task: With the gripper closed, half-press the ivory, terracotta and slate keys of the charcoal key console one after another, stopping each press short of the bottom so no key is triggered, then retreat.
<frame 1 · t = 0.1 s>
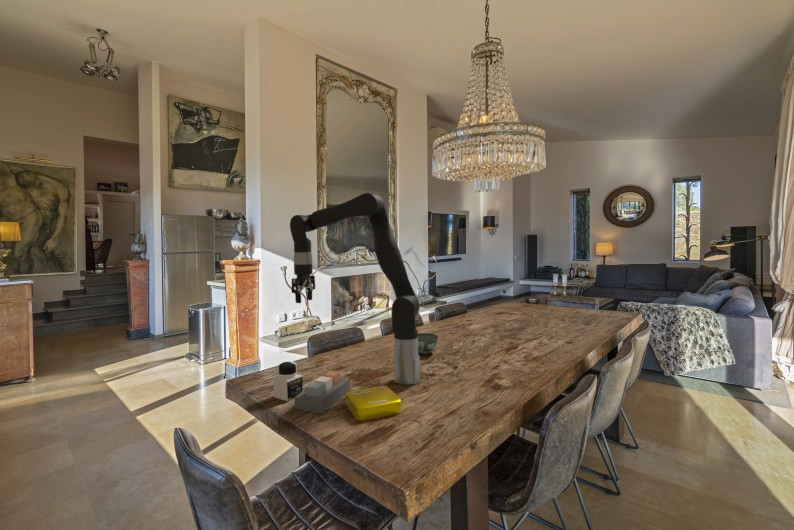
hand: (304, 301, 163), 29 cm above the table, fingers open, 8 cm apart
bowl: (424, 353, 187), on the table
element tile: (373, 409, 127), on the table
terracotta key: (332, 378, 139), point 5 cm above the table, slide at 0.0 cm
medicine bottle: (288, 396, 136), on the table
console: (323, 398, 134), on the table
ivory key: (323, 384, 133), point 5 cm above the table, slide at 0.0 cm
slate key: (314, 390, 128), point 5 cm above the table, slide at 0.0 cm
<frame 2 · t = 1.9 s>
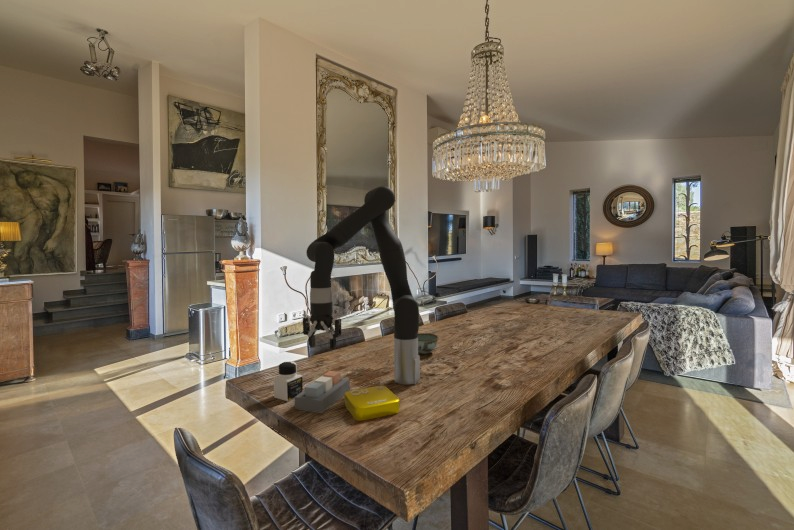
hand: (322, 347, 133), 18 cm above the table, fingers open, 7 cm apart
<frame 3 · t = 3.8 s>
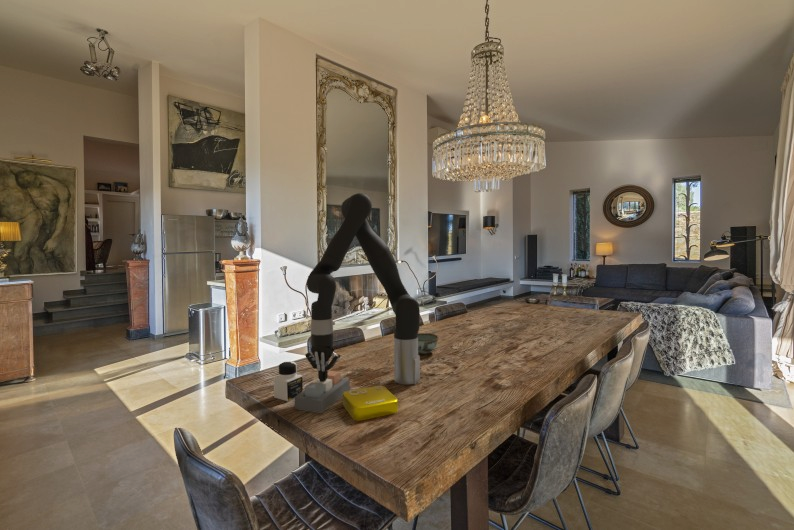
hand: (323, 380, 133), 6 cm above the table, fingers closed
ivory key: (323, 385, 133), point 5 cm above the table, slide at 0.6 cm, touching gripper
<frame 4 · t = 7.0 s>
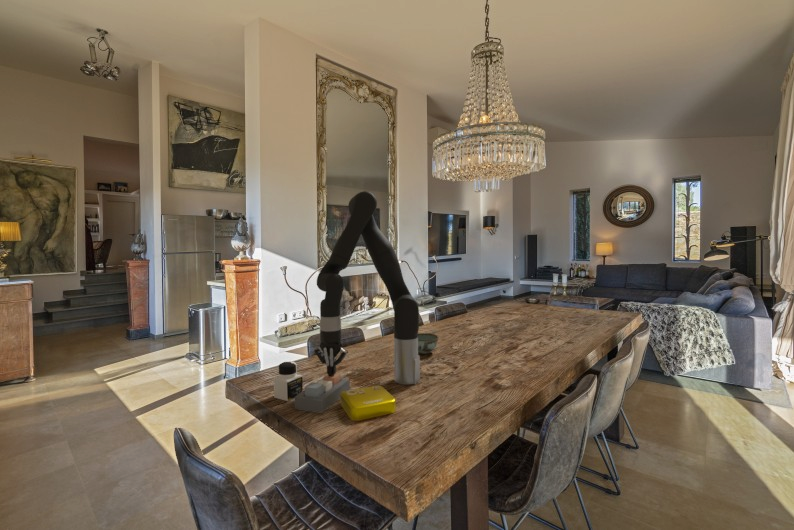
hand: (331, 375, 139), 6 cm above the table, fingers closed
terracotta key: (332, 380, 139), point 4 cm above the table, slide at 0.8 cm, touching gripper
ivory key: (323, 387, 133), point 4 cm above the table, slide at 1.4 cm
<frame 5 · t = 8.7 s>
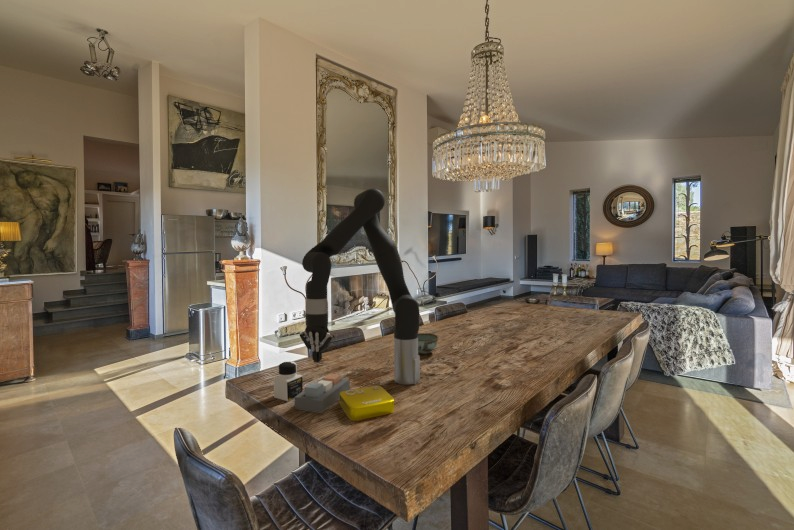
hand: (317, 361, 131), 14 cm above the table, fingers closed
terracotta key: (332, 381, 139), point 4 cm above the table, slide at 1.2 cm
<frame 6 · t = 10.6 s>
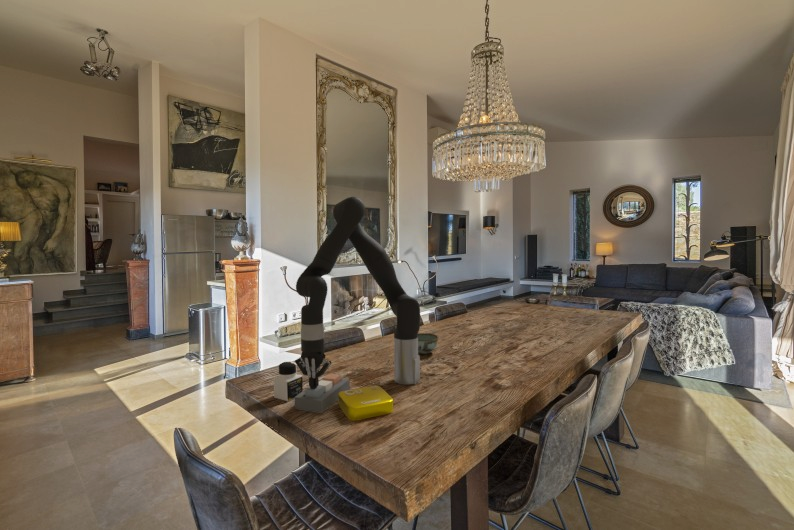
hand: (313, 387, 128), 6 cm above the table, fingers closed
slate key: (314, 393, 128), point 4 cm above the table, slide at 0.9 cm, touching gripper
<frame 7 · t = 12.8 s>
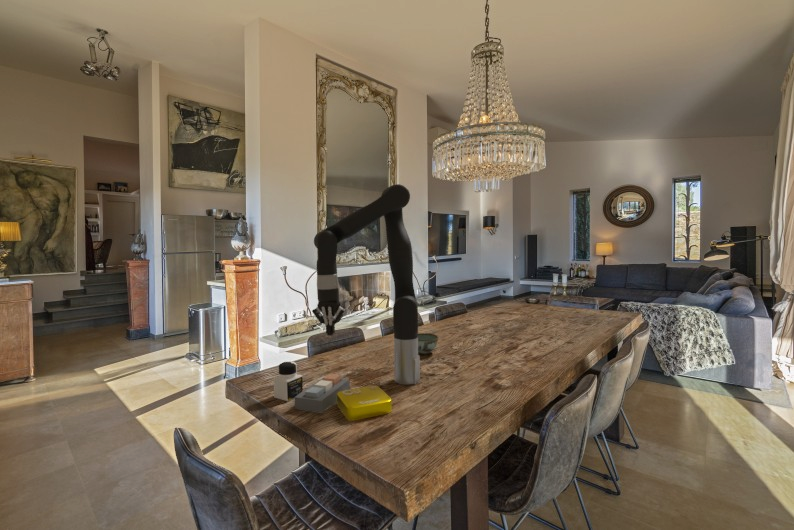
hand: (330, 335, 138), 21 cm above the table, fingers closed
slate key: (314, 395, 128), point 4 cm above the table, slide at 1.6 cm
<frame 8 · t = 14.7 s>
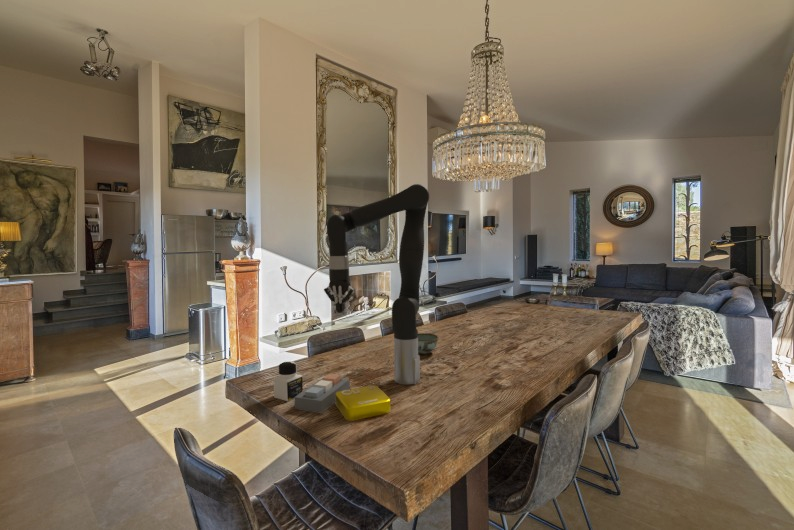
hand: (340, 312, 149), 27 cm above the table, fingers closed
at the end: ivory key slide at 1.4 cm; terracotta key slide at 1.2 cm; slate key slide at 1.6 cm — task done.
